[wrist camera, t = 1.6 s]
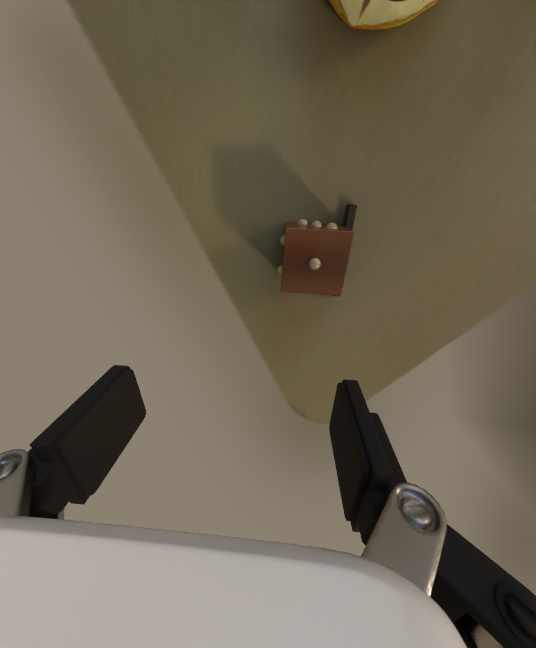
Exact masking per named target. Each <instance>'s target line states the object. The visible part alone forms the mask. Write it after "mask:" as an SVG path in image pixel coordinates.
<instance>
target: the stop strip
mask: <svg viewBox="0 0 536 648" xmlns="http://www.w3.org/2000/svg"><path fill="white" fill-rule="evenodd" d="M356 208H357V205H351V204H348V206H347V211H346V217H345V222H344V227H346V228H348V229H350V230H352V228H353V223H354V218H355V213H356ZM332 296H336V295H332Z"/></svg>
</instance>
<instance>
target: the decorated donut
mask: <svg viewBox="0 0 536 648" xmlns="http://www.w3.org/2000/svg"><path fill="white" fill-rule="evenodd" d="M437 1H438V0H329V2H330V3H331V4H332V6H333V8H334V9H335V11H336V13H337V14H338V15H339V16H340V18H341V19H342V20H343V21H344V22H346V23H347V24H348V26H349V27H351V28H353V29H362V30H363V29H364V30H366V29H367V30H369V29H371V30H377V29H382V30H384V29H389V28H392V27H396V26H399V25H403V24H404V23H406V22H408V21H410V20H412V19H413V18H415V17H416V16H417V15H419V14H420V13H422V12H424V11H425V10H427V9H428V8H430V7H431V6H433V5H434V4H435V3H436V2H437Z"/></svg>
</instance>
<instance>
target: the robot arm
mask: <svg viewBox="0 0 536 648" xmlns="http://www.w3.org/2000/svg"><path fill="white" fill-rule="evenodd" d="M145 415H146V409H145V406H144V403H143V400H142V397H141V393H140V390H139V387H138V384H137V381H136V378H135V375H134V371H133V370H131V369H130V367H129V366H120V365H119V366H118V365H115V366H113V367H111V368H110V369H109V370H108V371H107V372H106V373H105V374H104V375H103V376H102V377H101V378H100V379H99V380H98V381H97V382H95V383H94V384H93V385H92V386H91V387H90V388H89V389H88V390H87V391H86V392H85V393H84V394H83V395H82V396H81V397H80V398H79V399H77V401H75V402H74V403H73V404H72V405H71V406H70V407H69V408H68V409H67V410H66V411H65V412H64V413H63V414H61V416H59V417H58V418H57V419H56V420H55V421H54V422H53V423H52V424H51V425H50V426H49V427H48V428H47V429H46V430H45V431H43V432H42V433H41V434H40V435H39V436H38V437H37V438H36V439H35V440H34V441H33V442H32V443H31V444H30V446H31V447H32V449H31V450H30V451H28V452H26V451H25V450H22V449H14V450H10V451H7V452H3V453H1V454H0V648H536V596H535V595H534V594H533V593H532V592H531V591H530V590H529V589H527V588H526V587H525V586H524V585H522V584H521V583H520V582H519V581H517V580H516V579H515V578H514V577H512V576H511V575H510V574H509V573H507V572H506V571H505V570H503V569H502V568H501V567H500V566H499V565H497V564H496V563H495V562H493V561H492V560H491V559H490V558H489V557H487V556H486V555H485V554H484V553H482V552H481V551H480V550H479V549H477V548H476V547H475V546H474V545H473V544H471V543H470V542H469V541H468V540H466V539H465V538H464V537H462V536H461V535H460V534H459V533H457V532H456V531H455V530H454V529H452V528H451V527H450V526H449V525H448V524H447V521H446V517H445V514H444V512H443V510H442V508H441V506H440V505H439V503H438V502H437V501H436V500H435V499H434V497H433V496H432V495H430V494H429V493H428V492H427V491H426V490H424V489H423V488H421V487H419V486H417V485H414V484H411V483H407V481H406V479H405V476H404V474H403V472H402V470H401V467H400V465H399V462H398V460H397V457H396V455H395V453H394V450H393V448H392V446H391V443H390V441H389V439H388V436H387V434H386V432H385V429H384V427H383V424H382V422H381V420H380V418H379V416H378V414H376V413H370V412H369V410H368V407H367V404H366V402H365V399H364V397H363V394H362V391H361V389H360V386H359V384H358V381H357V380H343V381H342V383H338V385H337V390H336V395H335V400H334V405H333V410H332V415H331V420H330V437H331V442H332V447H333V454H334V459H335V465H336V470H337V475H338V481H339V487H340V492H341V498H342V504H343V509H344V515H345V518H346V520H347V521H351V526H352V530H353V531H354V532H360V534H361V539H362V542H363V543H364V544H365V545H366V547H365V549H364V551H363V553H362V555H361V556H357V555H354V554H350V553H346V552H341V551H336V550H331V549H326V548H318V547H311V546H304V545H296V544H288V543H280V542H272V541H263V540H254V539H245V538H236V537H227V536H218V535H209V534H200V533H190V532H181V531H171V530H162V529H152V528H143V527H133V526H123V525H113V524H103V523H92V522H83V521H72V520H64V507H65V506H66V505H67V503H68V502H70V503H75V504H85V502H86V501H87V499H88V498H89V496H90V495H93V494H94V493H95V492H96V491H97V489H98V488H99V486H100V485H101V483H102V482H103V480H104V479H105V477H106V475H107V474H108V473H109V471H110V470H111V468H112V467H113V465H114V463H115V462H116V460H117V459H118V457H119V456H120V454H121V453H122V451H123V450H124V448H125V447H126V445H127V444H128V442H129V441H130V439H131V438H132V436H133V435H134V433H135V432H136V430H137V429H138V427H139V426H140V424H141V423H142V421H143V420H144V418H145Z"/></svg>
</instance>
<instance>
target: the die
mask: <svg viewBox="0 0 536 648" xmlns="http://www.w3.org/2000/svg"><path fill="white" fill-rule="evenodd" d="M353 234H354V232H353V231H352V230H350V229H348V228H346V227H344V226H342V225H336V224H335V223H333V222H331V223H329V224H321V222H320V221H313V222H312V223H307V221H306V220H305V219H300V220H299V221H298V222H286V227H285V235H283V236H282V237H281V238H280V242H281V244H282V245H284V252H283V265H281V266H279V267H278V270H277V271H278V274H279V275H280V276H282V279H281V292H293V293H308V294H322V295H336V296H341V293H342V288H343V283H344V278H345V274H346V269H347V264H348V259H349V254H350V249H351V244H352V239H353Z"/></svg>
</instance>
